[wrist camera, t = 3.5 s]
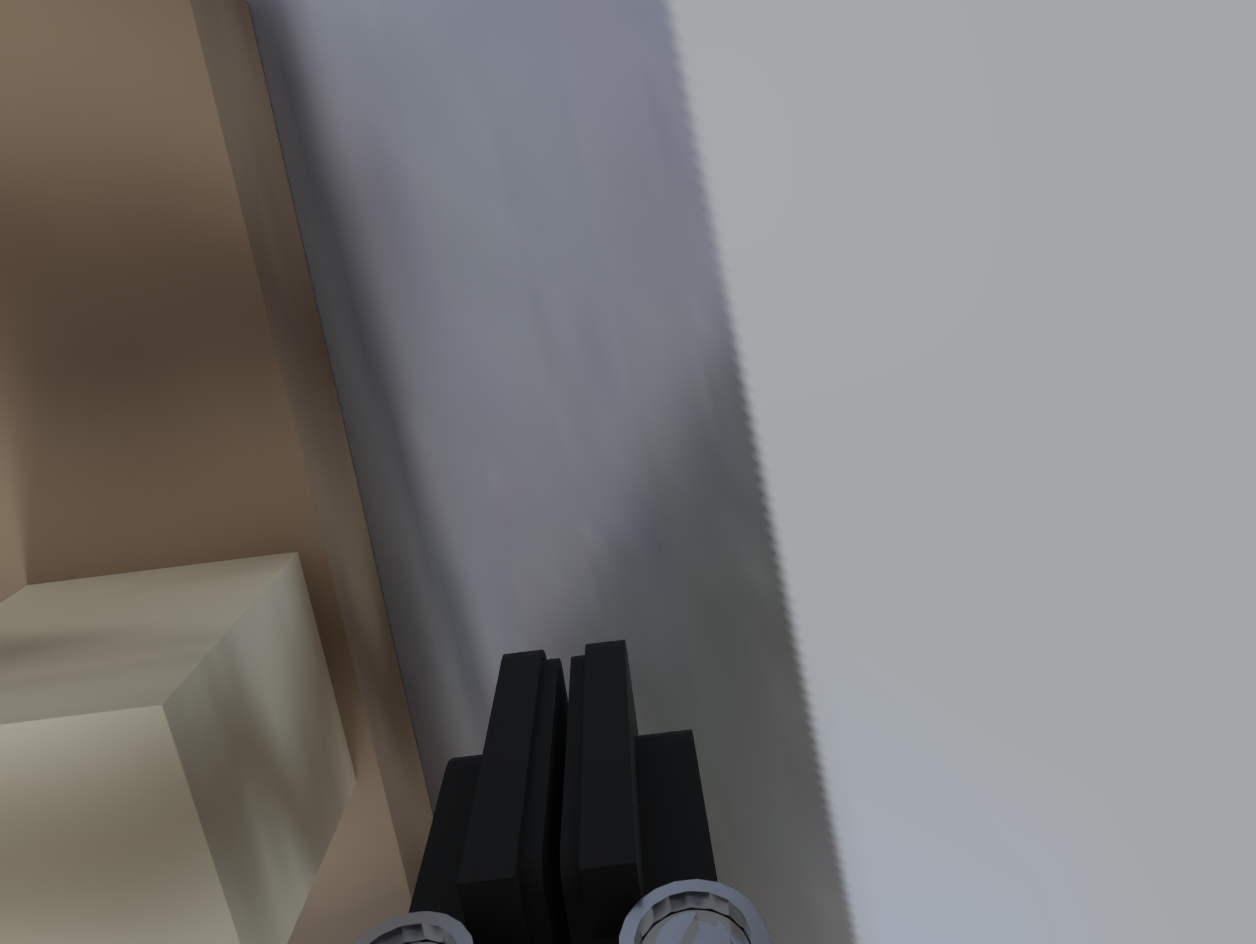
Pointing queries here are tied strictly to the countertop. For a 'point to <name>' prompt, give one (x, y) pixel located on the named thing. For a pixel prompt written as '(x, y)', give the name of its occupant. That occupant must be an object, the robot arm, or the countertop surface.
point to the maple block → (166, 756)
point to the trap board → (186, 372)
